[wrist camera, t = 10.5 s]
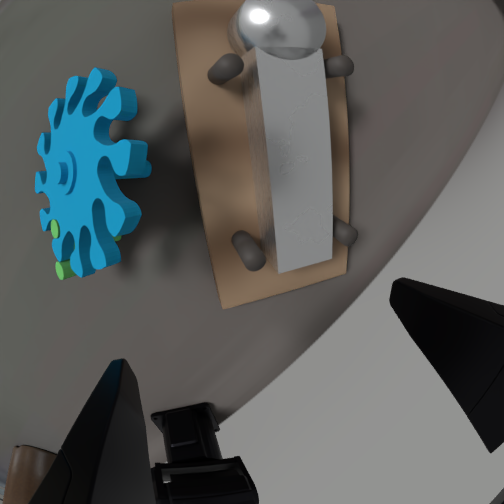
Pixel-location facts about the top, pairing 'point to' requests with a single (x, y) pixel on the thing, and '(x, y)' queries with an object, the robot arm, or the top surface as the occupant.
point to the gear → (89, 174)
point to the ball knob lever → (287, 127)
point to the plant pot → (26, 473)
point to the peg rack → (248, 153)
